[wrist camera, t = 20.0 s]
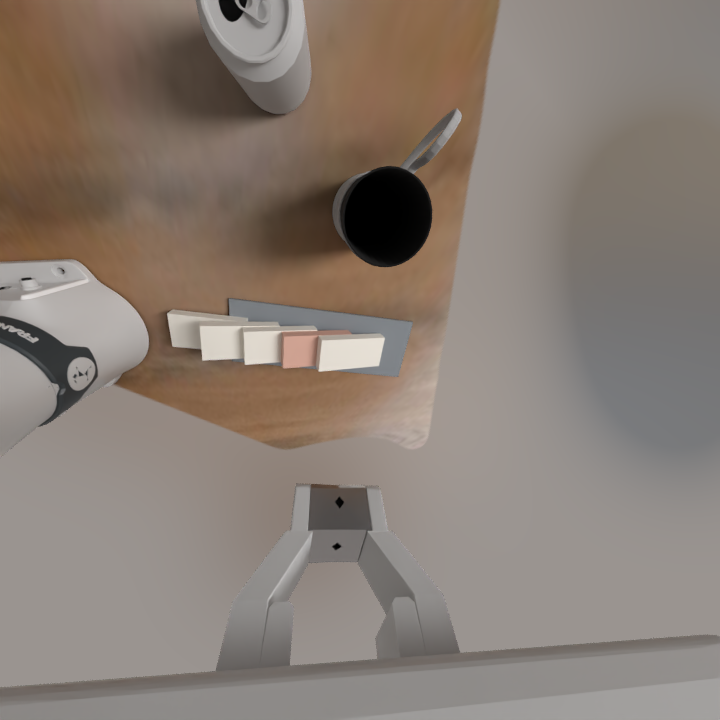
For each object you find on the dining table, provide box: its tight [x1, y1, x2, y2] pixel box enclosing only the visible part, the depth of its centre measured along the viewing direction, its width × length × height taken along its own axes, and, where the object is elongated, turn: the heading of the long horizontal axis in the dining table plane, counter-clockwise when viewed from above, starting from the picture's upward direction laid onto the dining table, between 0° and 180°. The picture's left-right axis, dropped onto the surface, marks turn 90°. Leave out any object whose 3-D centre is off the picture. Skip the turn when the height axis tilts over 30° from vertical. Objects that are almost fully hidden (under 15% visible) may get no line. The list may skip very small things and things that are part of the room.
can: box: [196, 0, 311, 114], centre depth 24 cm, size 8×8×12 cm
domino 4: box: [281, 330, 352, 368], centre depth 42 cm, size 2×5×10 cm
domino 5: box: [316, 333, 385, 371], centre depth 43 cm, size 2×5×10 cm
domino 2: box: [200, 321, 280, 360], centre depth 40 cm, size 2×5×10 cm
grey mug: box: [333, 108, 462, 267], centre depth 29 cm, size 9×14×15 cm, turn 143°
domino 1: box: [167, 310, 248, 349], centre depth 41 cm, size 2×5×10 cm
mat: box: [229, 298, 413, 377], centre depth 44 cm, size 27×10×1 cm, turn 80°
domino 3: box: [243, 326, 317, 365], centre depth 41 cm, size 2×5×10 cm
